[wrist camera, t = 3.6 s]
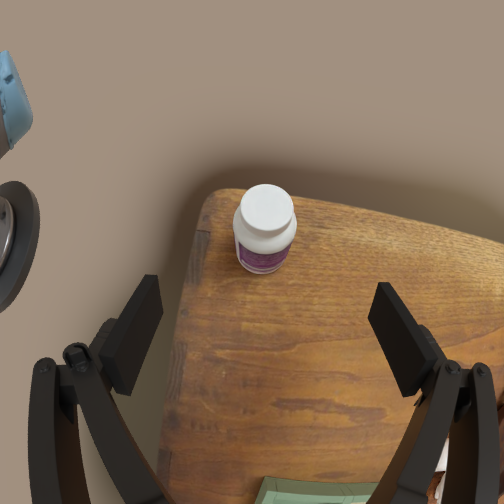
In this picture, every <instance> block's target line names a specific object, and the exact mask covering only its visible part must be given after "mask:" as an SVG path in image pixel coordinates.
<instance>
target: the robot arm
mask: <svg viewBox="0 0 504 504" xmlns="http://www.w3.org/2000/svg"><path fill="white" fill-rule="evenodd" d="M32 121H33V115H32V110H31V107H30V104H29V101H28V98H27V95H26V93H25V90H24V88H23V85H22V82H21V79H20V77H19V74H18V72H17V69H16V67H15V64H14V62H13V59H12V57H11V56H10V54H9V52H8V51H7V50H5V51H3V52H0V159H1V158H2V157H3V156H4V155H5V154H6V153H7V152H8V151H9V149H11V150H12V149H13V147H14V144H16V143H17V142H18V141H19V140H20V139H21V138H22V137H23V136H24V135H25V134H26V133H27V132H28V130H29V129H30V127H31V125H32ZM16 228H17V218H16V212H15V209H14V207H13V205H12V204H11V203H10V202H9V201H7V200H6V199H5V198H3V197H1V196H0V275H1V274H2V272H3V270H4V269H5V267H6V265H7V262H8V260H9V257H10V255H11V252H12V249H13V245H14V241H15V236H16ZM162 315H163V308H162V302H161V296H160V289H159V283H158V276H157V275H145V276H144V277H143V279H142V281H141V282H140V284H139V286H138V287H137V288H136V290H135V292H134V293H133V295H132V296H131V298H130V300H129V301H128V303H127V305H126V306H125V308H124V310H123V311H122V313H121V315H120V316H119V318H118V319H114V318H110V319H108V320H107V321H106V322H104V323H103V325H102V326H101V328H100V329H99V332H98V333H97V334H96V337H95V338H94V339H93V341H92V343H91V344H90V346H89V348H88V347H87V345H85V344H84V343H79V342H77V343H73V344H71V345H69V346H67V347H66V348H65V350H64V352H63V359H64V360H65V363H66V364H67V365H56V363H55V361H54V360H53V359H51V358H47V357H45V358H42V359H40V360H39V361H37V363H36V364H35V365H34V368H33V375H32V383H31V392H30V403H29V417H28V465H29V479H30V489H31V497H32V504H91V502H90V498H89V494H88V489H87V484H86V479H85V473H84V468H83V463H82V455H81V447H80V439H79V429H78V416H77V404H80V406H81V409H82V412H83V415H84V417H85V420H86V423H87V425H88V428H89V430H90V433H91V436H92V438H93V440H94V443H95V445H96V447H97V450H98V452H99V454H100V456H101V458H102V460H103V463H104V465H105V467H106V469H107V471H108V472H109V475H110V477H111V478H112V480H113V482H114V484H115V486H116V488H117V490H118V491H119V493H120V495H121V497H122V498H123V500H124V502H125V503H126V504H176V503H175V502H174V500H173V499H172V498H171V496H170V495H169V494H168V492H167V491H166V489H165V488H164V487H163V485H162V484H161V482H160V481H159V479H158V478H157V476H156V475H155V473H154V472H153V470H152V469H151V467H150V466H149V464H148V462H147V461H146V459H145V458H144V456H143V454H142V453H141V451H140V449H139V448H138V446H137V444H136V442H135V441H134V439H133V437H132V436H131V433H130V431H129V430H128V428H127V426H126V424H125V422H124V420H123V418H122V416H121V414H120V412H119V410H118V408H117V406H116V404H115V402H114V400H113V397H112V395H111V393H110V391H111V389H112V387H113V388H114V390H115V391H116V393H118V394H123V395H127V396H131V393H132V390H133V388H134V385H135V382H136V380H137V377H138V374H139V372H140V369H141V367H142V364H143V361H144V359H145V356H146V354H147V351H148V349H149V346H150V344H151V341H152V339H153V336H154V334H155V331H156V329H157V327H158V324H159V322H160V320H161V317H162ZM368 320H369V322H370V324H371V326H372V328H373V330H374V332H375V335H376V337H377V339H378V341H379V343H380V345H381V348H382V350H383V352H384V354H385V356H386V359H387V361H388V363H389V365H390V368H391V370H392V372H393V375H394V377H395V379H396V382H397V384H398V387H399V389H400V391H401V394H402V396H403V397H408V396H413V395H415V394H416V393H417V391H418V390H419V389H420V388H421V391H422V394H421V396H420V397H419V399H418V400H417V401H416V403H415V404H414V406H416V405H417V406H416V408H415V411H414V413H413V416H412V418H411V420H410V423H409V425H408V427H407V430H406V432H405V434H404V436H403V438H402V440H401V443H400V445H399V447H398V449H397V451H396V453H395V455H394V457H393V459H392V461H391V462H390V464H389V466H388V468H387V470H386V472H385V473H384V475H383V477H382V479H381V480H380V482H379V484H378V485H377V487H376V489H375V490H374V492H373V493H372V495H371V497H370V498H369V500H368V501H367V502H366V503H365V504H427V502H428V496H427V495H426V492H427V489H428V487H429V485H430V483H431V480H432V478H433V475H434V473H435V470H436V468H437V465H438V462H439V460H440V457H441V454H442V451H443V448H444V445H445V442H446V439H447V436H448V432H449V445H448V457H447V466H446V474H445V481H444V487H443V493H442V498H441V504H498V494H499V480H500V438H499V423H498V413H497V405H496V397H495V391H494V385H493V379H492V374H491V371H490V369H489V367H488V366H487V365H485V364H483V363H476V364H474V366H473V367H472V369H461V367H460V365H459V364H458V363H457V362H455V361H453V360H447V358H446V356H445V355H444V353H443V351H442V350H441V348H440V347H439V345H438V343H436V340H435V339H434V338H433V336H432V334H431V333H430V331H429V330H428V329H427V328H426V327H425V326H423V325H418V324H417V322H416V321H415V319H414V318H413V316H412V315H411V313H410V312H409V310H408V309H407V307H406V306H405V304H404V303H403V301H402V300H401V299H400V297H399V296H398V294H397V293H396V291H395V290H394V288H393V287H392V286H391V284H390V283H389V282H378V286H377V289H376V293H375V296H374V299H373V303H372V306H371V309H370V312H369V315H368Z"/></svg>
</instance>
